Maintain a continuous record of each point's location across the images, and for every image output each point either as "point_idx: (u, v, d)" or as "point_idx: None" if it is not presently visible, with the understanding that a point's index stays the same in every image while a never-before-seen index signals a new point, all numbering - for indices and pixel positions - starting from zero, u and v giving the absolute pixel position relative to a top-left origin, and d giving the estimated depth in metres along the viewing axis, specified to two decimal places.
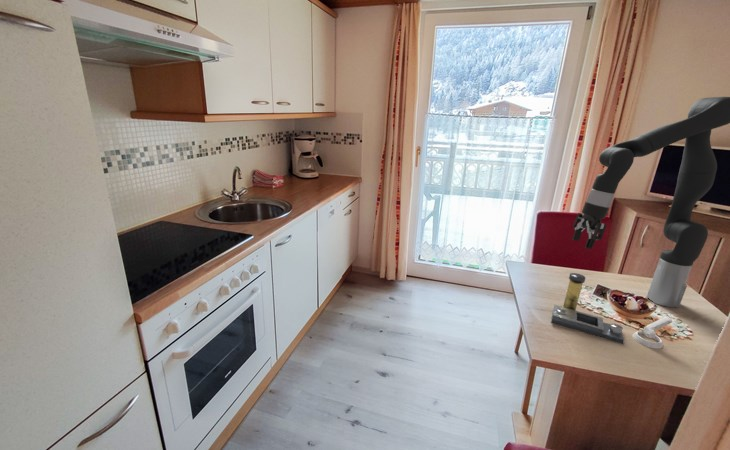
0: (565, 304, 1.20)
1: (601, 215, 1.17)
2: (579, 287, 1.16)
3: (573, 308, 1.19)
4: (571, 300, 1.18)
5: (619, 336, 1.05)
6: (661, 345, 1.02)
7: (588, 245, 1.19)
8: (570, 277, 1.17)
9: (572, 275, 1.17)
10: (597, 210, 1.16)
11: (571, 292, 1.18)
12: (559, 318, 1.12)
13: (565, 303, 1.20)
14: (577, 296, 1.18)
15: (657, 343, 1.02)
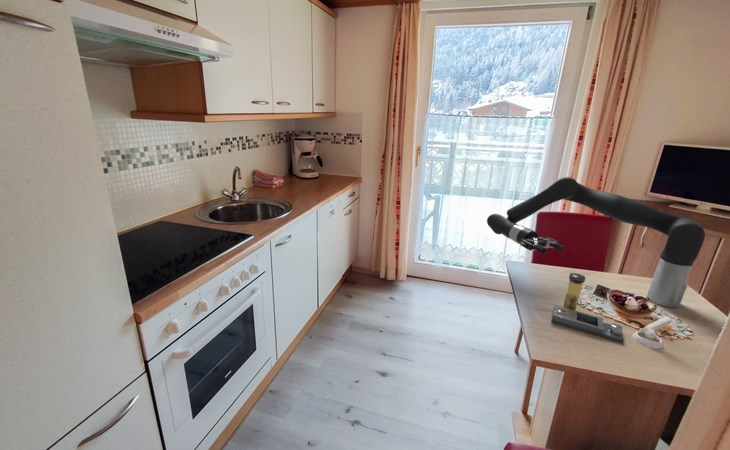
0: (565, 304, 1.20)
1: (522, 239, 1.36)
2: (579, 287, 1.16)
3: (573, 308, 1.19)
4: (571, 300, 1.18)
5: (619, 336, 1.05)
6: (661, 345, 1.02)
7: (541, 252, 1.25)
8: (570, 277, 1.17)
9: (572, 275, 1.17)
10: (519, 241, 1.38)
11: (571, 292, 1.18)
12: (559, 318, 1.12)
13: (565, 303, 1.20)
14: (577, 296, 1.18)
15: (657, 343, 1.02)
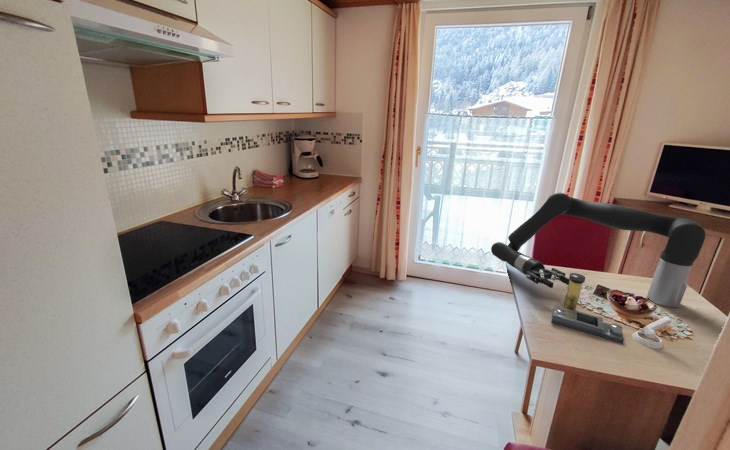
0: (565, 304, 1.20)
1: (528, 270, 1.34)
2: (579, 287, 1.16)
3: (573, 308, 1.19)
4: (571, 300, 1.18)
5: (619, 336, 1.05)
6: (661, 345, 1.02)
7: (547, 285, 1.24)
8: (570, 277, 1.17)
9: (572, 275, 1.17)
10: (525, 272, 1.36)
11: (571, 292, 1.18)
12: (559, 318, 1.12)
13: (565, 303, 1.20)
14: (577, 296, 1.18)
15: (657, 343, 1.02)
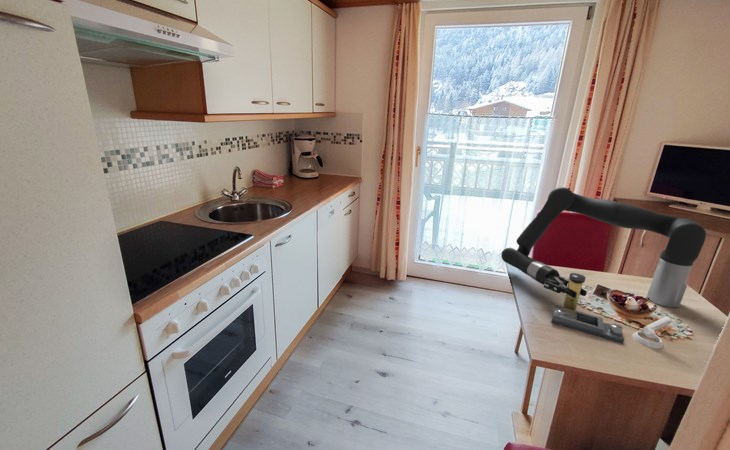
0: (565, 304, 1.20)
1: (542, 278, 1.27)
2: (579, 287, 1.16)
3: (573, 308, 1.19)
4: (571, 300, 1.18)
5: (619, 336, 1.05)
6: (661, 345, 1.02)
7: (570, 295, 1.17)
8: (570, 277, 1.17)
9: (572, 275, 1.17)
10: (538, 279, 1.30)
11: None
12: (559, 318, 1.12)
13: (565, 303, 1.20)
14: (577, 296, 1.18)
15: (657, 343, 1.02)
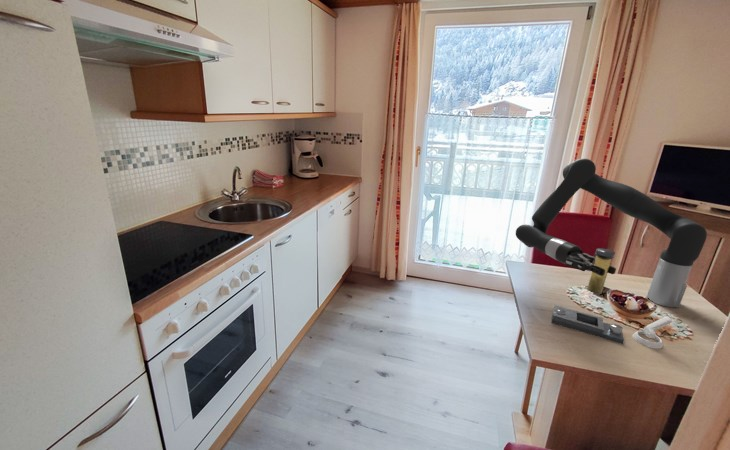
0: (590, 284, 1.07)
1: (563, 255, 1.13)
2: (607, 263, 1.02)
3: (600, 288, 1.05)
4: (598, 279, 1.04)
5: (619, 336, 1.05)
6: (661, 345, 1.02)
7: (597, 273, 1.03)
8: (597, 252, 1.03)
9: (599, 250, 1.03)
10: (559, 258, 1.16)
11: None
12: (559, 318, 1.12)
13: (590, 282, 1.07)
14: (605, 274, 1.04)
15: (657, 343, 1.02)
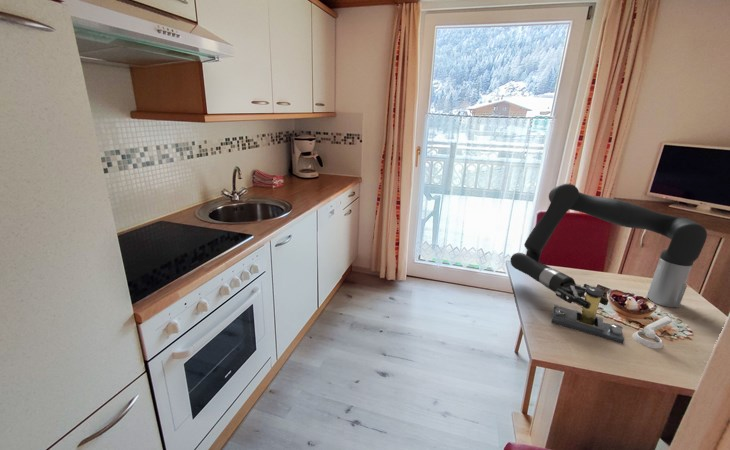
0: (581, 320, 1.11)
1: (556, 286, 1.17)
2: (597, 302, 1.07)
3: None
4: (588, 316, 1.09)
5: (619, 336, 1.05)
6: (661, 345, 1.02)
7: (583, 306, 1.07)
8: (587, 291, 1.08)
9: (589, 289, 1.08)
10: (552, 288, 1.19)
11: None
12: (559, 318, 1.12)
13: (581, 319, 1.11)
14: (595, 312, 1.08)
15: (657, 343, 1.02)
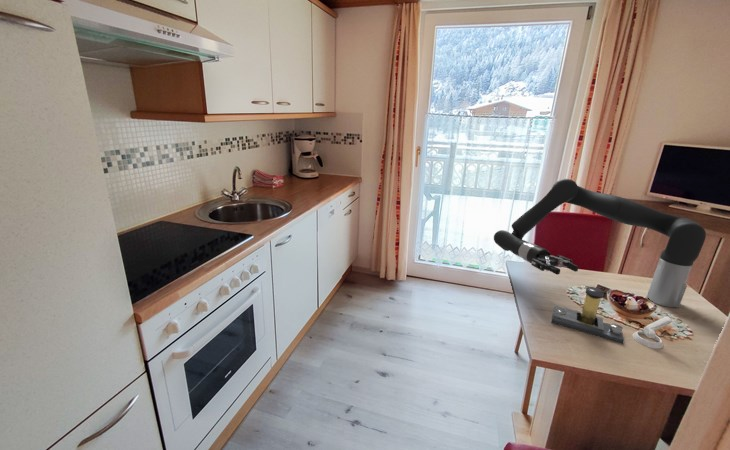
0: (581, 320, 1.11)
1: (533, 257, 1.29)
2: (597, 302, 1.07)
3: None
4: (588, 316, 1.09)
5: (619, 336, 1.05)
6: (661, 345, 1.02)
7: (554, 272, 1.18)
8: (587, 291, 1.08)
9: (589, 290, 1.07)
10: (529, 260, 1.31)
11: (588, 307, 1.08)
12: (559, 318, 1.12)
13: (581, 319, 1.11)
14: (594, 312, 1.08)
15: (657, 343, 1.02)
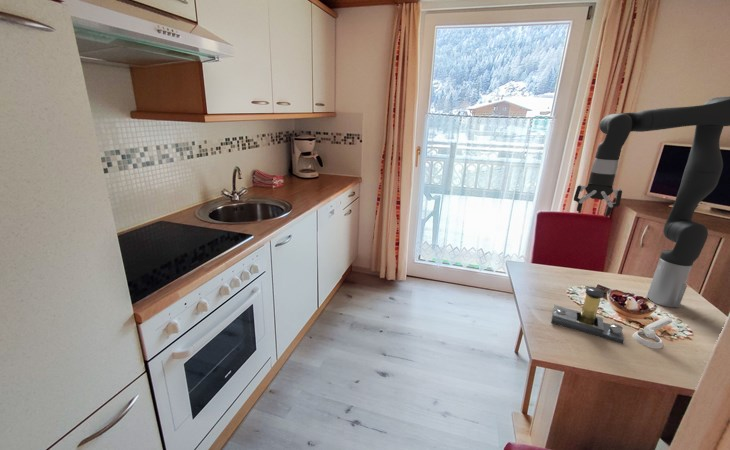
0: (581, 320, 1.11)
1: None
2: (597, 302, 1.07)
3: None
4: (588, 316, 1.09)
5: (619, 336, 1.05)
6: (661, 345, 1.02)
7: None
8: (587, 291, 1.08)
9: (589, 290, 1.07)
10: None
11: (588, 307, 1.08)
12: (559, 318, 1.12)
13: (581, 319, 1.11)
14: (594, 312, 1.08)
15: (657, 343, 1.02)
